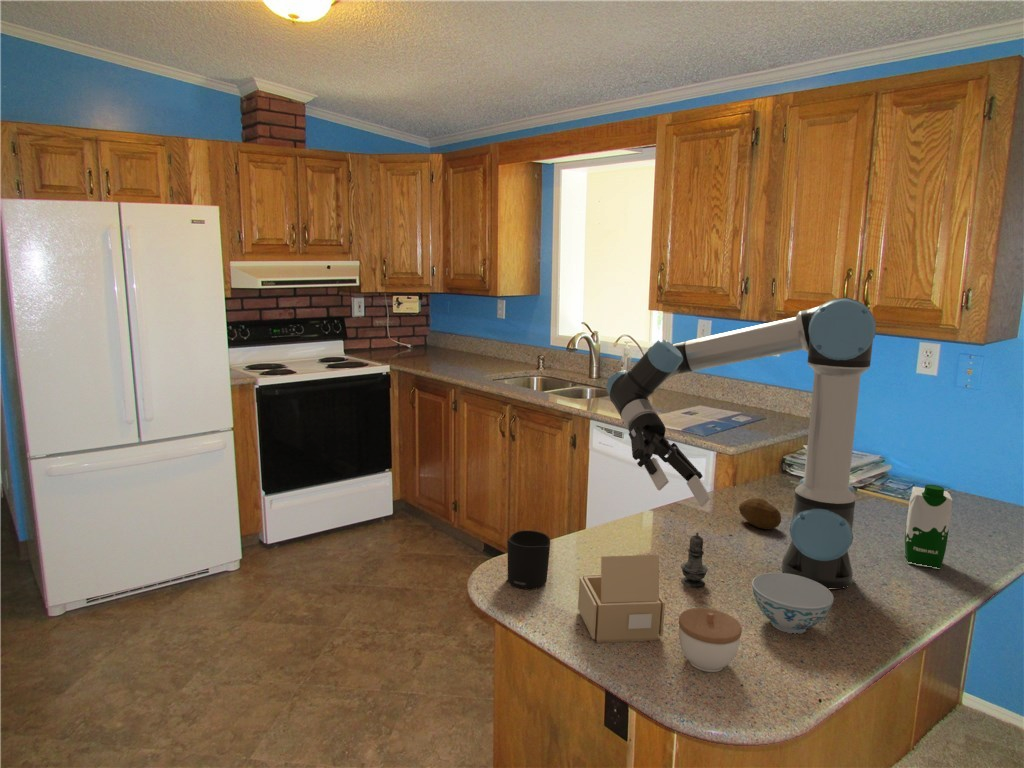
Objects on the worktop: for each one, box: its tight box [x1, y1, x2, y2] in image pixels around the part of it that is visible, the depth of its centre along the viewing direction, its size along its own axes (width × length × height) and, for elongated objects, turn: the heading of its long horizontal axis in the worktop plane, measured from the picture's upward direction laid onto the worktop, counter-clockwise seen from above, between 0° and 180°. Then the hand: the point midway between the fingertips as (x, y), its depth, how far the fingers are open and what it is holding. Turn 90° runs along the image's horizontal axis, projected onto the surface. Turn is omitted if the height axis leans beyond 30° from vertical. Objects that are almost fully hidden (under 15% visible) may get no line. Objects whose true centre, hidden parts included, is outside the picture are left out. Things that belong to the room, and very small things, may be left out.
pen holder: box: [507, 530, 551, 590], centre depth 150 cm, size 9×9×10 cm
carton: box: [577, 573, 666, 644], centre depth 133 cm, size 14×13×8 cm
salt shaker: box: [680, 531, 709, 589], centre depth 152 cm, size 6×6×12 cm
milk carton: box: [904, 484, 954, 569], centre depth 168 cm, size 9×9×20 cm
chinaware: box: [751, 572, 835, 635], centre depth 135 cm, size 15×15×8 cm
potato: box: [738, 498, 782, 530], centre depth 190 cm, size 8×12×8 cm, turn 45°
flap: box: [600, 554, 660, 603], centre depth 127 cm, size 11×1×8 cm, turn 98°
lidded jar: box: [678, 607, 742, 673], centre depth 121 cm, size 11×11×9 cm
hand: (685, 494), depth 137 cm, fingers open, 13 cm apart
